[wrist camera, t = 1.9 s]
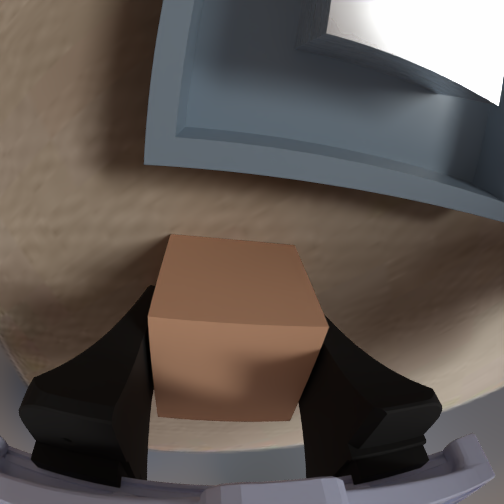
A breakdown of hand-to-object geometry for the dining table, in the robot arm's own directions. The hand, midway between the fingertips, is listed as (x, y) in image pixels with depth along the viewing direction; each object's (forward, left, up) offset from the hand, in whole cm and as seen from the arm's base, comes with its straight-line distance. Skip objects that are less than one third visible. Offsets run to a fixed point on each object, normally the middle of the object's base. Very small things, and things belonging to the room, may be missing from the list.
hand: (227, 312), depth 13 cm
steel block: (-4, -13, -1) cm, 14 cm away
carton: (0, 0, -1) cm, 1 cm away
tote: (-4, -13, -1) cm, 14 cm away
